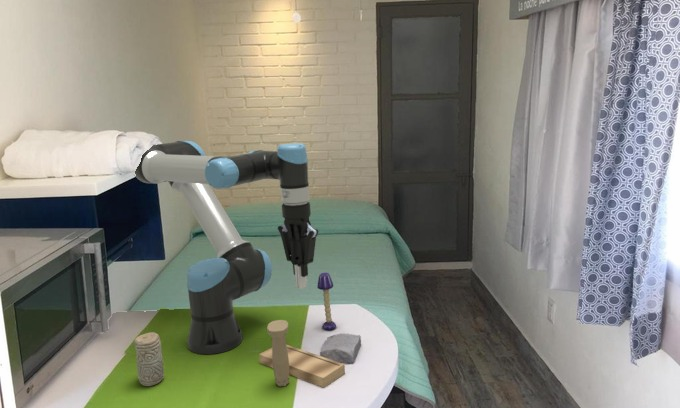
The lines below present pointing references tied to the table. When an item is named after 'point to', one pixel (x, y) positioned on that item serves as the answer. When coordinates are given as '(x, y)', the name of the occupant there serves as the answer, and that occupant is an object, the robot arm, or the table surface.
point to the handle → (279, 351)
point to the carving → (149, 359)
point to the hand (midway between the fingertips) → (301, 286)
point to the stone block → (341, 347)
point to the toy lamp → (326, 299)
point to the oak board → (308, 366)
